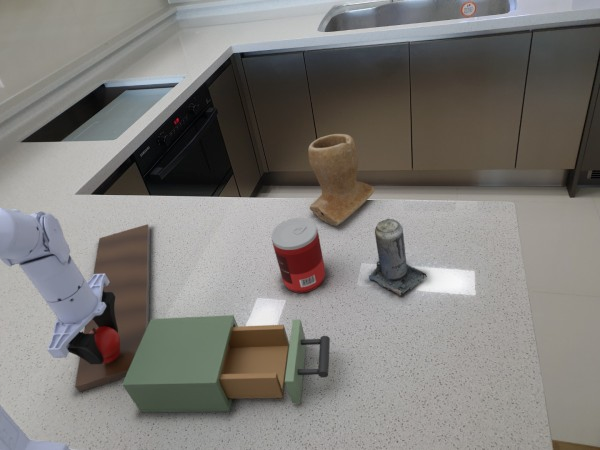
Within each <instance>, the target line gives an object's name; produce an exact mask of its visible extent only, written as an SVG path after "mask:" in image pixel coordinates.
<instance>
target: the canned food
mask: <svg viewBox="0 0 600 450" xmlns="http://www.w3.org/2000/svg"><path fill="white" fill-rule="evenodd" d="M271 242H272V246H273V250H274V253H275V257H276V260H277V264H278V267H279V268H278V269H279V271H280V276H281V278H282V282H283V284H284V285H285V288H287V289H288V290H289V291H291V292H294V293H299V294H301V293H308V292H312V291H313V290H315V289H317V288H318V287H320V286H321V284H322V283H323V282H324V280H325V276H326V269H325V268H326V267H325V263H324V258H323V257H324V256H323V252H322V245H321V240H320V235H319V232H318V226H317V225H316V223H315V222H314V221H313V220H312V219H309V218H305V217H294V218H293V217H292V218H289V219H287V220H284V221H282V222H280V223H279V224H278V225H277V226H276V227H274V229H273V230H272V232H271Z"/></svg>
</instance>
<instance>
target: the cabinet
mask: <svg viewBox="0 0 600 450" xmlns="http://www.w3.org/2000/svg"><path fill="white" fill-rule="evenodd" d="M234 315H235V314H232V315H231V314H230V315H209V316H189V317H187V316H186V317H167V318H165V317H164V318H151V319H149V324H148V327H147V329H146V331H145V333H144V336H143V338H142V340H141V343H140V345H139V347H138V349H137V352H136V354H135V356H134V358H133V361H132V363H131V365H130V367H129V370H128V372H127V374H126V377H125V378H123V382H122V383H121V386H122V387H123V389H124V390H125V392H126V393H127V394H128V396H129V397H130V398H131V400H132V401H133V403H134V404H135V406H136V408H138V409H139V412H141V413H217V412H218V413H219V412H223V413H224V412H225V413H227V412H228V413H229V412H231V408H232V403H233V399H234V398H227V397H226V395H225V393H224V391H223V389H222V387H221V385H220V383H219V378H220V375H221V371H222V367H223V363H224V359H225V355H226V351H227V347H228V343H229V340H230V336H231V332H232V328H233V327H239V325H238V323H237V320H236V317H235V316H234Z"/></svg>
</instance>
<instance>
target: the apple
mask: <svg viewBox="0 0 600 450" xmlns="http://www.w3.org/2000/svg"><path fill="white" fill-rule="evenodd" d="M91 333H95V342H96V345H97V347H98V349H99V351H100V352H101V354H102V356H103V359H104V361H103V363H109V362H111V361H113V360H115V359H116V358H117V357H118V356H119V354H120V351H121V349H120V337H119V334H118V333H117V332H116V331H115V330H114V329H113V328H110V327H106V326H102V327H98V328H92V331H91V332H90V333H89V334H91Z"/></svg>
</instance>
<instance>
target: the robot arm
mask: <svg viewBox="0 0 600 450" xmlns="http://www.w3.org/2000/svg"><path fill="white" fill-rule="evenodd" d="M70 254H71V249H70V245H69V244H68V242H67V240H66V238H65V234H64V231H63V228H62V226H61V223H60V222H59V219H58V218H57V217H55V215H54V214H52V213H46V212H44V211H37V212H34V213H31V214H29V213H26V212H25V213H24V212H22V211H21V210H19V209H15V208H14V209H8V208H4V207H0V261H2V263H3V264H5V265H6V266H8V267H12V266H14V265H19V267H20V269H21V271H23V273H24V274H25V276H26V277H27V278H28V280H29V281H30V282H31V284H32V285H33V286H34V288H35V289H36V291H37V292H38V294H39V295H40V296H41V297H42V299H43V300H44V302H45V304H46V305H47V306H48V307H49V308H50V310H51V311H52V313H53V314H54V316H56V319H55V323H54V328H53V331H52V336H51V339H50V342H49V345H48V347H47V348H46V351H47V352H48V353H49V354H50V356H51V357H52V358H53V359H63V358H65V359H66V358H67V357H68V355H69V353H70V354H73V355H75V356H77V357H79V358H80V357H81V358H82V359H84V360H85V361H87V362H88V363H90V364H102V363H103V361H104V359H103V356H102V354H101V352H100V351H99V349H98V347H97V345H96V342H95V333H91V334H84V331H82V330H84V329H85V326H86V325H87V324H88V323H89V322H90V321H91V320H92V319H93V320H94V322H95V323H96V324H97V326H98V327H102V326H106V327H110V328H113V329H114V330H115V331H116V332H117V333H118V327H117V323H116V318H115V311H114V304H115V295H114V294H113V292H104V291H103V287H106V286H108V284H109V282H110V281H109V280H108V278H107V276H106V275H105V274H94V273H93V274H94V275H92V276H91V278H90V279H89V280H88V281H87V280H86V278H85V277H84V275H83V274H82V272H81V271H80V269H79V267H78V266H77V264H76V263H75V261H74V260H73V258H72V257H71V255H70ZM0 450H71V448H69V446H68V445H67V443H63V442H55V441H42V440H36V439H35V440H33V439H30V438H29V437H28V436H27V434H26V433H25V432H24V431H23V430H22V429H21V428H20V426H19V425H18V424H17V423H16V422H15V421H14V419H13V418H12V417H11V416H10V414H8V412H7V411H6V410H5V408H3V407H2V405H0Z"/></svg>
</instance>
